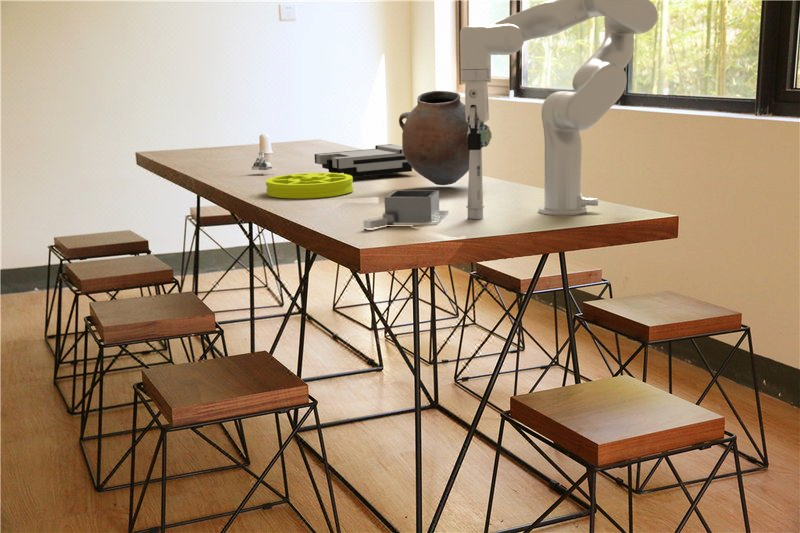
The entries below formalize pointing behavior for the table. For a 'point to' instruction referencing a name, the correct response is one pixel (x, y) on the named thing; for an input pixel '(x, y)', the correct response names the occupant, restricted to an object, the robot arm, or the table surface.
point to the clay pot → (437, 137)
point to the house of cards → (261, 163)
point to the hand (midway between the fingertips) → (476, 147)
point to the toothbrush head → (477, 176)
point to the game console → (366, 161)
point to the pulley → (309, 185)
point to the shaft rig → (410, 209)
